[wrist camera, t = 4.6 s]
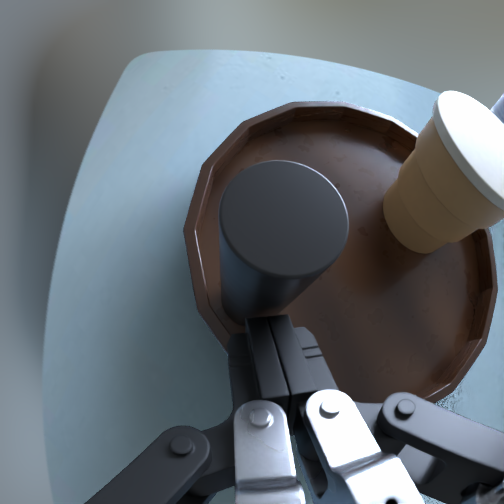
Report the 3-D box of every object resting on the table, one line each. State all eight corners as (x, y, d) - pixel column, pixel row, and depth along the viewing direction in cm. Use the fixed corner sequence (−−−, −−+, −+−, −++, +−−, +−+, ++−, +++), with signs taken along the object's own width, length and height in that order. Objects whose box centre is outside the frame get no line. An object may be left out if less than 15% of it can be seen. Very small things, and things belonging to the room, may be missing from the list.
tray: (331, 483, 12) (430, 568, 3) (131, 204, 17) (72, 77, 8) (505, 279, 18) (593, 233, 9) (355, 97, 23) (395, 6, 13)
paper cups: (419, 289, 16) (520, 236, 8) (348, 199, 18) (413, 104, 10) (466, 232, 18) (542, 176, 10) (407, 159, 20) (465, 82, 12)
